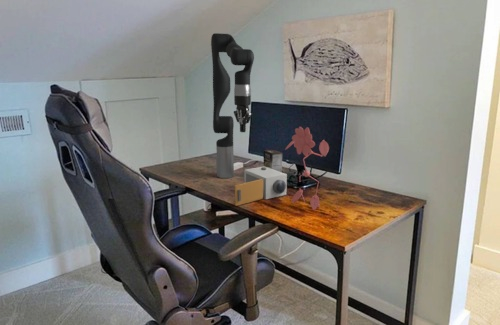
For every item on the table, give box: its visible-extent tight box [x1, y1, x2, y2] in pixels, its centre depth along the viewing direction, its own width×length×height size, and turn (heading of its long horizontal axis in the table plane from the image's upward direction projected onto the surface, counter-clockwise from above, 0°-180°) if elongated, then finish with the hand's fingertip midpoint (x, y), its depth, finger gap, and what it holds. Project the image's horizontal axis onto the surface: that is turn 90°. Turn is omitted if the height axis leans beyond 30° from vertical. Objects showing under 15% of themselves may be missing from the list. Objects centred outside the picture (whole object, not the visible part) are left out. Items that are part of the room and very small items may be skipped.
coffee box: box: [263, 149, 283, 173], centre depth 201 cm, size 9×6×16 cm
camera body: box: [243, 165, 288, 200], centre depth 183 cm, size 20×12×11 cm, turn 33°
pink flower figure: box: [284, 126, 330, 217], centre depth 159 cm, size 15×26×35 cm, turn 35°
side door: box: [234, 179, 264, 207], centre depth 169 cm, size 16×2×9 cm, turn 129°
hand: (242, 132), depth 179 cm, fingers closed
